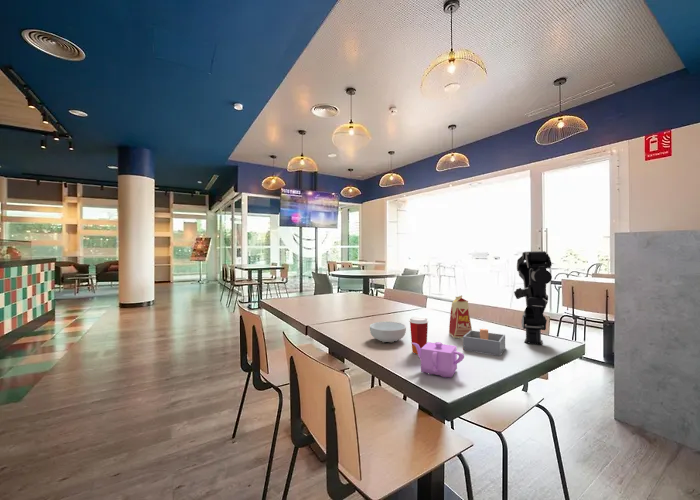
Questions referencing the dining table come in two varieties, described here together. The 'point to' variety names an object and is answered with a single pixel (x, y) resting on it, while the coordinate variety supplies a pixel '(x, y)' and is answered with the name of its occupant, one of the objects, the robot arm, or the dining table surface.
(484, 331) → the peg
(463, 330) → the milk carton
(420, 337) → the paper cup
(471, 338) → the box
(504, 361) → the dining table surface
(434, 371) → the teapot
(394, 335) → the cereal bowl
